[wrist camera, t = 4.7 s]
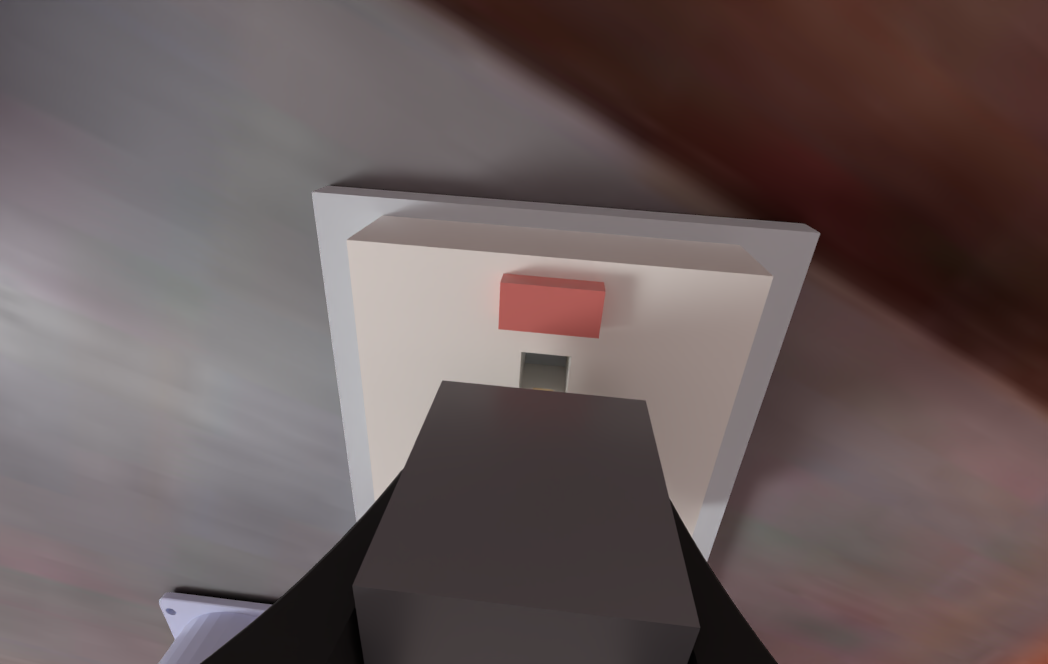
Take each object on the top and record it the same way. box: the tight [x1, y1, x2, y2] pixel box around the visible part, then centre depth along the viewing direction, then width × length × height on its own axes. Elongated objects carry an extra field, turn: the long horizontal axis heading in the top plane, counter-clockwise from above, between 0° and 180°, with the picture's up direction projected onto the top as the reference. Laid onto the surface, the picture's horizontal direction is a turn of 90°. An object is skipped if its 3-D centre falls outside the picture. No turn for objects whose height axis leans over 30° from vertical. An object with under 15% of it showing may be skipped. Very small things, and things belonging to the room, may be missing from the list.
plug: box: [352, 380, 700, 664], centre depth 11 cm, size 4×7×6 cm, turn 177°
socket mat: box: [312, 186, 820, 561], centre depth 18 cm, size 19×14×1 cm
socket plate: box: [346, 215, 774, 537], centre depth 14 cm, size 10×10×3 cm
